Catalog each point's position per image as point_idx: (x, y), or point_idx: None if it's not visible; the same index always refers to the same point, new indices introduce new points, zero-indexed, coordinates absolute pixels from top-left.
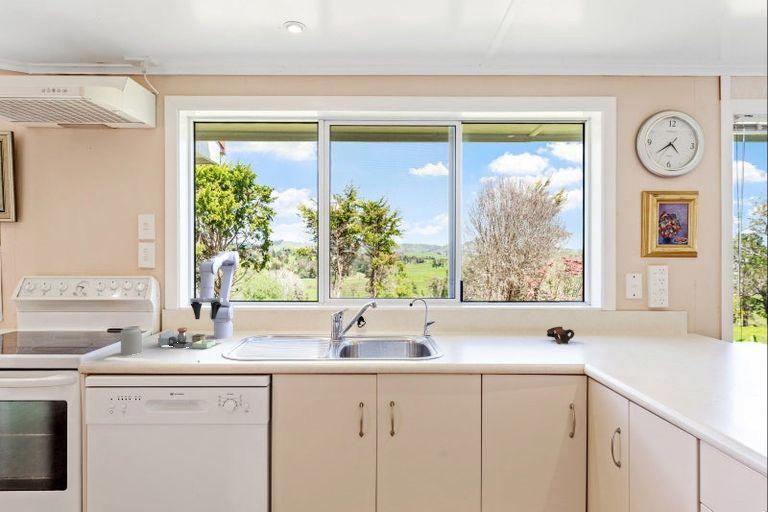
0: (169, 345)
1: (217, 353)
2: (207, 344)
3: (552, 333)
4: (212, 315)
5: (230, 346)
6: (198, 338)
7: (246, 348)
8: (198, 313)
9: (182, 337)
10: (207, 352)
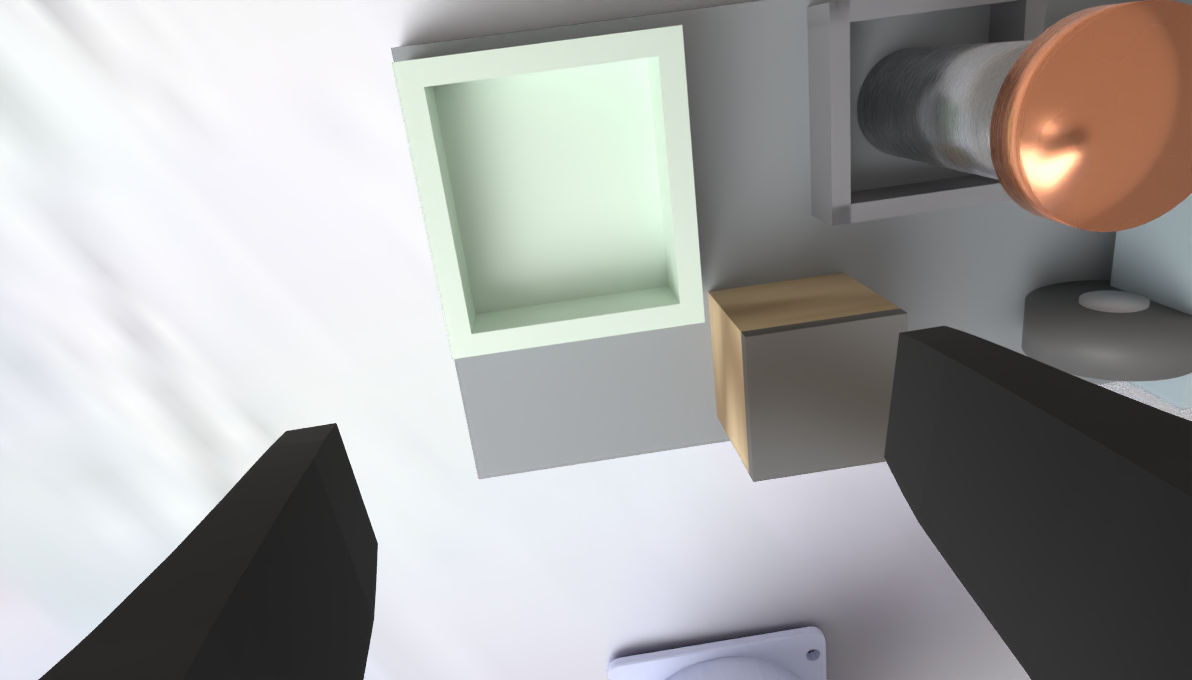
0: None
1: (158, 11)
2: (402, 93)
3: None
4: (235, 494)
5: None
6: (770, 316)
7: (6, 425)
8: (1017, 558)
9: (969, 61)
10: (371, 29)
